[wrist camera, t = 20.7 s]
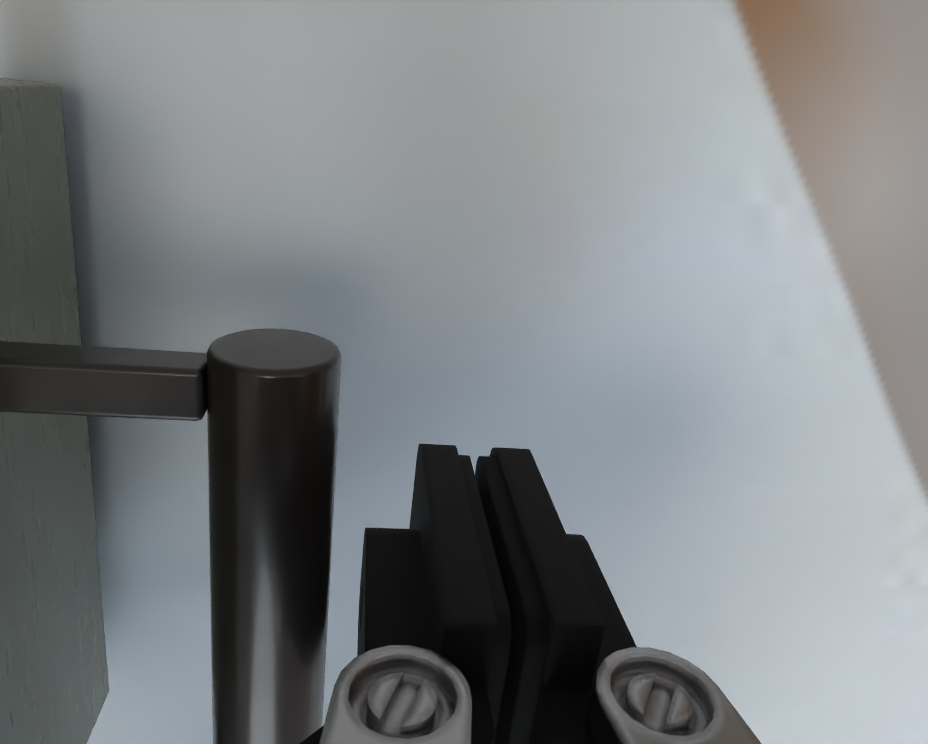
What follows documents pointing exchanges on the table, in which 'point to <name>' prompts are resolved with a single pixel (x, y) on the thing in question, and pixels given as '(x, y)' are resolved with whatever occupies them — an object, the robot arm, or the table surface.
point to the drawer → (71, 491)
